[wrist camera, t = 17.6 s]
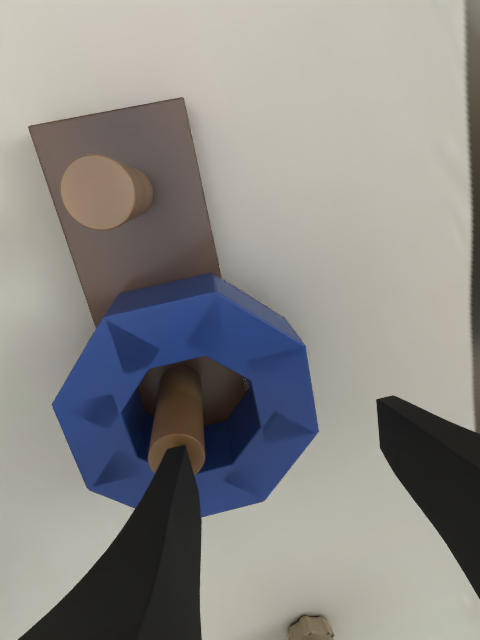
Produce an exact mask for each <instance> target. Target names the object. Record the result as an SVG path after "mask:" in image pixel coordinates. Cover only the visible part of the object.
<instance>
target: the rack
mask: <svg viewBox="0 0 480 640" xmlns="http://www.w3.org/2000/svg"><path fill="white" fill-rule="evenodd" d="M28 128H29V131H30V134H31V137H32V140H33V143H34V146H35V149H36V152H37V155H38V158H39V161H40V164H41V167H42V170H43V173H44V176H45V179H46V182H47V185H48V187H49V190H50V193H51V196H52V199H53V202H54V205H55V208H56V211H57V214H58V217H59V220H60V223H61V226H62V229H63V232H64V235H65V238H66V241H67V244H68V247H69V250H70V253H71V256H72V259H73V261H74V264H75V267H76V270H77V273H78V276H79V279H80V282H81V285H82V288H83V291H84V294H85V297H86V300H87V303H88V306H89V309H90V312H91V315H92V318H93V321H94V324H95V327H96V328H97V326H98V325H99V323H100V321H101V320H102V318H103V316H104V315H105V314H106V312H107V311H108V309H109V308H110V306H111V305H112V303H113V302H114V300H115V299H116V298H117V296H118V295H119V294H120V293H123V292H127V291H132V290H136V289H141V288H145V287H150V286H154V285H158V284H163V283H167V282H172V281H176V280H181V279H185V278H190V277H194V276H199V275H203V274H207V273H212V274H215V275H216V276H218V277H219V278H221V274H220V269H219V264H218V259H217V255H216V250H215V245H214V240H213V235H212V231H211V226H210V221H209V216H208V212H207V207H206V202H205V197H204V192H203V188H202V183H201V178H200V173H199V169H198V164H197V159H196V154H195V149H194V145H193V140H192V135H191V130H190V126H189V121H188V116H187V111H186V106H185V102H184V98H182V97H181V98H176V99H170V100H165V101H160V102H154V103H149V104H144V105H138V106H133V107H128V108H122V109H117V110H112V111H106V112H101V113H95V114H90V115H85V116H79V117H74V118H69V119H63V120H58V121H53V122H47V123H42V124H37V125H31V126H29V127H28ZM221 279H222V278H221ZM137 388H138V391H139V394H140V397H141V400H142V403H143V406H144V409H145V412H146V413H147V414H149V415H151V416H153V417H154V421H153V428H152V434H151V440H150V446H149V453H148V463H149V466H150V468H151V469H152V471H153V472H154V473H155V472H156V470H157V468H158V466H159V464H160V462H161V460H162V458H163V456H164V454H165V452H166V450H167V449H168V448H173V447H177V446H181V445H186V448H187V452H188V455H189V459H190V462H191V466H192V469H193V473H194V475H195V474H197V473H198V472H199V471H200V469H201V468H202V466H203V464H204V462H205V440H204V426H206V425H210V424H215V423H219V422H223V421H226V420H227V419H228V417H229V416H230V414H231V413H232V412H233V410H234V409H235V407H236V406H237V405H238V403H239V402H240V400H241V399H242V398H243V396H244V395H245V388H244V383H243V379H242V376H241V375H239V374H238V373H236V372H234V371H232V370H230V369H228V368H227V367H225V366H223V365H221V364H219V363H218V362H216V361H214V360H212V359H210V358H208V357H207V356H202V357H197V358H193V359H189V360H185V361H180V362H176V363H172V364H168V365H164V366H159V367H155V368H151V369H149V370H148V372H147V373H146V375H145V376H144V378H143V379H142V381H141V382H140V384H139V386H138V387H137Z"/></svg>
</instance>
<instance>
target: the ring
mask: <svg viewBox="0 0 480 640" xmlns="http://www.w3.org/2000/svg"><path fill="white" fill-rule="evenodd" d="M202 356H207V357H208V358H210V359H212V360H214V361H216V362H218V363H219V364H221V365H223V366H225V367H227V368H228V369H230V370H232V371H234V372H236V373H238V374H239V375H241V376H243V377H245V378H247V381H248V385H249V389H248V391H247V392H246V393H245V395H244V396H243V398H242V399H241V400H240V402H239V403H238V405H237V406H236V407H235V409H234V410H233V412H232V413H231V414H230V416H229V417H228V419H227V420H226V421H223V422H219V423H215V424H210V425H206V426H204V440H205V462H204V464H203V466H202V468H201V469H200V471H199V472H198V473H197V474H195V475H194V476H195V480H196V483H197V487H198V490H199V497H200V508H201V517H205V516H209V515H213V514H216V513H220V512H224V511H228V510H232V509H236V508H240V507H244V506H248V505H252V504H255V503H259V502H263V501H264V500H266V498H267V497H268V496H269V494H270V493H271V492H272V491H273V489H274V488H275V487H276V486H277V484H278V483H279V482H280V480H281V479H282V478H283V477H284V475H285V474H286V473H287V472H288V470H289V469H290V468H291V466H292V465H293V464H294V463H295V461H296V460H297V459H298V457H299V456H300V455H301V454H302V452H303V451H304V450H305V449H306V447H307V446H308V445H309V443H310V442H311V441H312V440H313V438H314V437H315V436H316V435H317V433H318V432H319V430H318V423H317V417H316V410H315V404H314V397H313V391H312V385H311V378H310V372H309V365H308V359H307V352H306V346H305V345H304V343H303V342H302V341H301V339H300V338H299V337H298V335H297V334H296V332H295V331H294V330H293V328H292V327H291V326H290V324H289V323H288V322H287V320H286V319H285V318H284V317H282V316H281V315H279V314H277V313H276V312H274V311H273V310H271V309H269V308H268V307H266V306H264V305H263V304H261V303H260V302H258V301H256V300H255V299H253V298H252V297H250V296H248V295H247V294H245V293H244V292H242V291H240V290H239V289H237V288H235V287H234V286H232V285H231V284H229V283H227V282H226V281H224V280H223V279H221V278H219V277H218V276H216V275H215V274H212V273H207V274H203V275H199V276H194V277H190V278H185V279H181V280H176V281H172V282H167V283H163V284H158V285H154V286H150V287H145V288H141V289H136V290H132V291H127V292H123V293H120V294H119V295H118V296H117V298H116V299H115V300H114V302H113V303H112V305H111V306H110V308H109V309H108V311H107V312H106V314H105V315H104V316H103V318H102V320H101V321H100V323H99V325H98V326H97V328H96V330H95V332H94V333H93V335H92V337H91V338H90V340H89V342H88V343H87V345H86V347H85V349H84V350H83V352H82V354H81V355H80V357H79V359H78V360H77V362H76V364H75V366H74V367H73V369H72V371H71V372H70V374H69V376H68V378H67V379H66V381H65V383H64V384H63V386H62V388H61V389H60V391H59V393H58V395H57V396H56V398H55V400H54V401H53V403H52V406H53V409H54V412H55V414H56V416H57V419H58V421H59V423H60V426H61V428H62V430H63V433H64V435H65V437H66V440H67V442H68V444H69V447H70V449H71V452H72V454H73V456H74V459H75V461H76V463H77V466H78V468H79V470H80V473H81V475H82V477H83V480H84V482H85V484H86V487H87V488H88V489H89V490H90V491H93V492H95V493H98V494H100V495H103V496H105V497H108V498H110V499H113V500H115V501H118V502H120V503H123V504H125V505H128V506H130V507H133V508H136V507H137V505H138V503H139V502H140V500H141V498H142V497H143V495H144V493H145V491H146V489H147V488H148V486H149V484H150V482H151V480H152V478H153V476H154V474H155V473H154V472H153V471H152V469H151V468H150V466H149V463H148V453H149V446H150V440H151V434H152V428H153V421H154V417H153V416H151V415H149V414H147V413H146V412H145V409H144V406H143V403H142V400H141V397H140V394H139V391H138V388H137V387H138V386H139V384H140V382H141V381H142V379H143V378H144V376H145V375H146V373H147V372H148V370H149V369H151V368H155V367H159V366H164V365H168V364H172V363H176V362H180V361H185V360H189V359H193V358H197V357H202Z"/></svg>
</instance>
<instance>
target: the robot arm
mask: <svg viewBox="0 0 480 640" xmlns="http://www.w3.org/2000/svg"><path fill="white" fill-rule="evenodd" d="M376 401H377V414H378V427H379V440H380V449H381V450H382V452H383V454H384V456H385V458H386V460H387V461H388V463H389V465H390V467H391V468H392V470H393V472H394V473H395V475H396V476H397V478H398V479H399V480H400V482H401V483H402V484H403V486H404V487H405V488H406V490H407V491H408V493H409V494H410V495H411V497H412V498H413V499H414V501H415V502H416V503H417V504H418V506H419V507H420V508H421V510H422V511H423V512H424V514H425V515H426V516H427V518H428V519H429V520H430V522H431V523H432V524H433V526H434V527H435V528H436V530H437V531H438V533H439V534H440V535H441V537H442V538H443V540H444V541H445V543H446V544H447V546H448V547H449V549H450V551H451V552H452V554H453V555H454V557H455V559H456V560H457V562H458V564H459V565H460V567H461V568H462V570H463V572H464V573H465V575H466V577H467V578H468V580H469V582H470V583H471V585H472V587H473V588H474V590H475V592H476V594H477V595H478V597H479V599H480V434H478V433H476V432H473V431H471V430H468V429H466V428H463V427H461V426H458V425H456V424H454V423H452V422H449V421H447V420H445V419H443V418H441V417H438V416H436V415H434V414H432V413H430V412H428V411H426V410H424V409H422V408H419V407H417V406H415V405H413V404H411V403H409V402H407V401H405V400H403V399H401V398H398V397H396V396H394V395H393V396H389V397H384V398H380V399H376ZM201 524H202V521H201V508H200V497H199V490H198V487H197V483H196V480H195V476H194V473H193V469H192V466H191V462H190V459H189V455H188V452H187V448H186V445H181V446H177V447H173V448H168V449H167V450H166V452H165V454H164V456H163V458H162V460H161V462H160V464H159V466H158V468H157V470H156V472H155V474H154V476H153V478H152V480H151V482H150V484H149V486H148V488H147V489H146V491H145V493H144V495H143V497H142V498H141V500H140V502H139V503H138V505H137V507H136V508H135V510H134V512H133V513H132V515H131V516H130V518H129V520H128V521H127V523H126V524H125V526H124V527H123V529H122V530H121V531H120V533H119V534H118V536H117V537H116V538H115V540H114V541H113V542H112V544H111V545H110V546H109V548H108V549H107V550H106V552H105V553H104V554H103V555H102V556H101V557H100V559H99V560H98V561H97V562H96V563H95V564H94V566H93V567H92V568H91V569H90V570H89V572H88V573H87V574H86V575H85V576H84V577H83V578H82V579H81V580H80V581H79V583H78V584H77V585H76V586H75V587H74V588H73V589H72V590H71V591H70V592H69V593H68V594H67V595H66V596H65V597H64V598H63V599H62V600H61V601H60V602H59V603H58V604H57V605H56V606H55V607H54V608H53V609H52V610H51V611H50V612H49V613H47V614H46V615H45V616H44V617H43V618H42V619H41V620H40V621H38V622H37V623H36V624H35V625H34V626H33V627H32V628H31V629H29V630H28V631H27V632H26V633H25V634H24V635H23V636H22V637H20V638H19V639H18V640H202V638H201V621H200V561H201Z"/></svg>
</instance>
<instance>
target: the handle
mask: <svg viewBox="0 0 480 640" xmlns="http://www.w3.org/2000/svg"><path fill="white" fill-rule="evenodd" d="M333 637H334V633H333V631H332V629H331V626H330V624H329V622H328V621H327V620H326V619H325V618H324V617H321V616H320V617H308V616H303V617H301V618H300V620H299V621H298V622H297V623H296V624H294V625H291V627H290V629H289V631H288V638H289V640H334V639H333Z"/></svg>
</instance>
